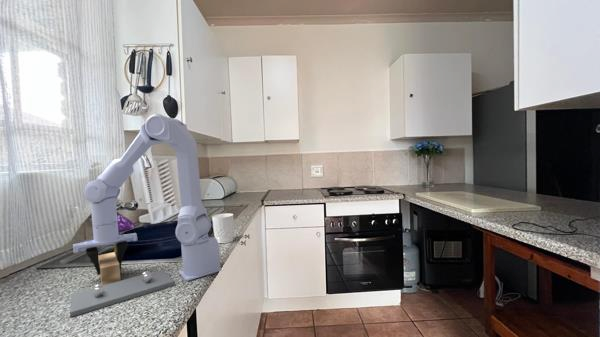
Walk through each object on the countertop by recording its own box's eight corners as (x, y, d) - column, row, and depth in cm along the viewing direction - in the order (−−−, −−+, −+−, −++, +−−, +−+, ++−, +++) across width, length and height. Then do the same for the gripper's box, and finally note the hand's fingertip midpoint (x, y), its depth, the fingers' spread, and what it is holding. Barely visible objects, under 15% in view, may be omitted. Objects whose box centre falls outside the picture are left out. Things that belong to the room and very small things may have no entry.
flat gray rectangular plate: (163, 272, 78) (162, 262, 78) (173, 285, 69) (173, 273, 69) (71, 298, 65) (70, 285, 65) (70, 317, 57) (69, 303, 56)
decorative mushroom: (142, 252, 98) (138, 210, 97) (98, 262, 89) (95, 216, 89) (133, 245, 107) (130, 207, 106) (93, 254, 98) (90, 212, 98)
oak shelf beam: (115, 268, 84) (114, 251, 84) (120, 282, 73) (119, 264, 73) (99, 272, 81) (98, 255, 81) (102, 287, 70) (100, 268, 70)
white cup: (210, 241, 106) (208, 216, 105) (228, 237, 111) (227, 212, 111) (219, 245, 100) (217, 218, 100) (238, 240, 105) (237, 214, 105)
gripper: (133, 216, 84) (136, 260, 85) (71, 226, 75) (76, 275, 76) (136, 220, 79) (140, 266, 79) (71, 230, 70) (75, 283, 70)
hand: (109, 271), depth 77 cm, fingers closed on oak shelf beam, 4 cm apart
